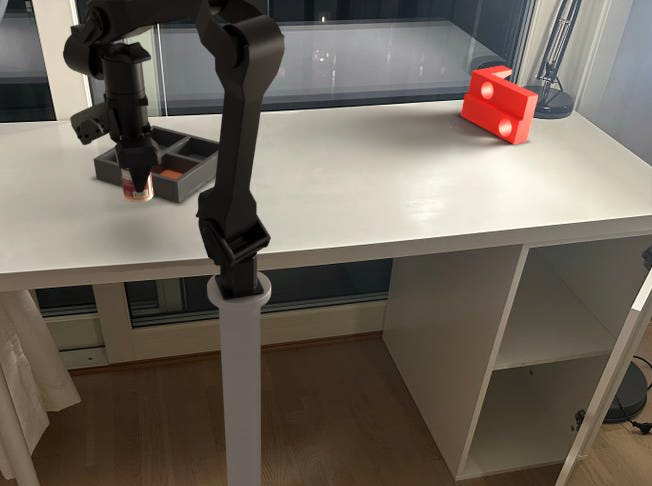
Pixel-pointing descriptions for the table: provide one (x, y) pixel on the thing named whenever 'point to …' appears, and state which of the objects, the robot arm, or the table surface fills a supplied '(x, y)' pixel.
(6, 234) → the table surface
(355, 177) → the table surface
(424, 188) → the table surface
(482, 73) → the bracket
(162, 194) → the organiser
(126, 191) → the pill bottle
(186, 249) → the table surface
